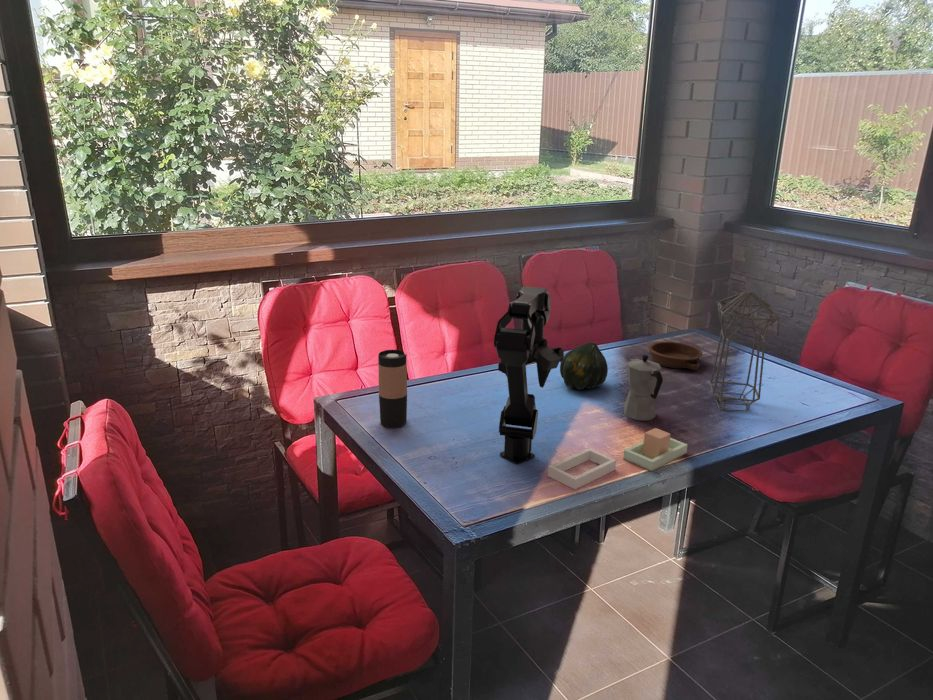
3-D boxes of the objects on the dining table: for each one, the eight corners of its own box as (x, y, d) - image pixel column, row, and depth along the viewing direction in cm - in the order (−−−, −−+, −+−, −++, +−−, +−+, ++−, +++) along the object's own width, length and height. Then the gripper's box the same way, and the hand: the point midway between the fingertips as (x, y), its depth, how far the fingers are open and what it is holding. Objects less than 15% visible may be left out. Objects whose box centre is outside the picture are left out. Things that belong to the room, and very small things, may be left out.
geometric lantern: (702, 393, 227) (717, 283, 216) (756, 398, 224) (773, 286, 213) (707, 413, 212) (723, 296, 201) (765, 419, 210) (784, 300, 198)
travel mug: (374, 425, 201) (372, 356, 195) (387, 415, 208) (386, 347, 202) (399, 430, 199) (398, 360, 192) (412, 419, 206) (411, 351, 199)
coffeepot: (613, 407, 216) (618, 349, 210) (641, 403, 219) (647, 346, 213) (641, 429, 202) (647, 367, 196) (671, 424, 205) (678, 363, 199)
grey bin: (574, 489, 170) (575, 479, 170) (547, 475, 176) (548, 466, 176) (615, 469, 180) (616, 460, 179) (588, 457, 186) (589, 448, 185)
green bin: (651, 471, 179) (652, 462, 178) (623, 458, 185) (624, 449, 184) (686, 453, 189) (687, 444, 188) (658, 441, 195) (659, 433, 194)
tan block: (657, 460, 184) (660, 438, 182) (642, 454, 187) (644, 432, 185) (668, 455, 187) (670, 433, 185) (653, 449, 190) (655, 427, 188)
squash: (544, 369, 229) (576, 340, 221) (565, 358, 241) (596, 330, 233) (572, 405, 227) (606, 378, 218) (592, 392, 239) (625, 365, 230)
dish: (675, 377, 241) (676, 363, 239) (633, 356, 259) (634, 342, 258) (716, 370, 248) (718, 356, 246) (672, 350, 267) (673, 336, 265)
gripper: (529, 350, 178) (526, 409, 183) (580, 335, 190) (576, 391, 195) (497, 339, 186) (495, 396, 191) (548, 325, 198) (545, 379, 203)
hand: (529, 391), depth 195 cm, fingers open, 9 cm apart
